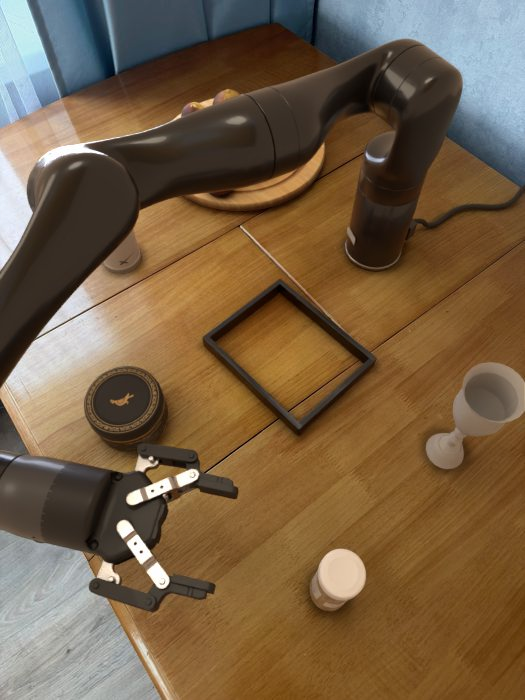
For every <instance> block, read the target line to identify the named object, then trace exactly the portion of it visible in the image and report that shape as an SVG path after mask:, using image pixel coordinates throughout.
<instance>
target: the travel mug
mask: <svg viewBox="0 0 525 700" xmlns="http://www.w3.org/2000/svg"><path fill="white" fill-rule="evenodd" d="M141 261H142V254H141V251H140V247H139V244H138V240H137V237H136V234H135V230H134V229H133V230H132V231H131V233H130V234H129V235H128V236H127V238H126V239H125V240H124V241H123V242H122V243H121V244H120V245H119V246H118V247H117V248H116V250H115V251H114V252H113V253H112V254H111V255H110V256H109V257H108V258H107V259H106V260H105V261H104V262H103V263H102V264H103V265H104V268H105V269H106V270H107V271H108V272H110V273H111V274H117V275H124V274H128V273H130V272H132V271H134V270H135V269H137V268H138V266H139V265H140V263H141Z"/></svg>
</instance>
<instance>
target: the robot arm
mask: <svg viewBox="0 0 525 700" xmlns="http://www.w3.org/2000/svg"><path fill="white" fill-rule="evenodd" d="M463 88H464V79H463V75H462V72H461V71H460V70H459V69H458V68H457V66H456V67H455V66H454V65H453V64H452V63H450V62H449V61H447V60H446V59H445V58H444V57H442V56H441V55H439V54H438V53H437V52H435V51H434V50H433V49H431V48H430V47H429V46H427V45H425V43H422V42H420V41H419V40H416V39H412V38H399V39H395V40H391V41H389V42H386V43H384V44H382V45H379V46H377V47H375V48H373V49H370V50H368V51H365V52H364V53H361V54H359V55H357V56H354V57H352V58H350V59H348V60H346V61H343V62H341V63H339V64H337V65H334V66H331V67H328V68H325V69H322V70H319V71H316V72H313V73H309V74H306V75H304V76H300V77H298V78H294V79H291V80H288V81H284V82H281V83H277V84H273V85H269V86H266V87H265V86H264V87H261V88H258V89H256V90H252V91H249V92H245V93H242V94H240V95H238V96H236V97H233V98H230V99H227V100H225V101H222V102H219V103H216V104H214V105H211V106H208V107H205V108H203V109H200V110H198V111H195V112H192V113H190V114H187V115H185V116H183V117H180V118H178V119H175V118H174V119H175V120H174V119H172V120H171V121H168V122H166V123H164V124H161V125H159V126H155V127H154V128H150V129H147V130H144V131H141V132H136V133H131V134H127V135H122V136H118V137H112V138H107V139H101V140H97V141H90V142H84V143H77V144H70V145H64V146H60V147H56V148H54V149H51V150H49V151H48V152H47V153H45V154H44V155H42V156H41V157H40V158H39V160H37V161H36V163H35V164H34V166H33V167H32V169H31V171H30V173H29V175H28V179H27V182H26V196H27V197H26V198H27V203H28V205H29V208H30V210H31V212H32V213H31V216H30V219H29V220H28V223H27V225H26V227H25V229H24V231H23V233H22V235H21V238H20V239H19V241H18V243H17V244H16V247H15V248H14V250H13V252H12V253H11V254H10V256H9V258H8V259H7V260H6V262H5V263H4V265H3V266H2V268H1V269H0V390H1V389H2V388H3V386H4V384H5V383H6V381H7V380H8V378H9V377H10V375H11V374H12V372H13V371H14V369H15V368H16V367H17V365H18V364H19V362H20V361H21V359H22V358H23V357H24V355H25V354H26V353H27V351H28V350H29V348H30V347H31V346H32V344H33V342H34V341H35V340H36V339H37V338H38V337H39V335H40V334H41V332H43V330H44V329H45V328H46V326H47V325H48V323H50V321H51V320H52V319H53V318H54V316H55V315H56V314H57V313H58V311H59V310H60V309H61V308H62V307H63V306H64V305H65V303H67V301H68V300H69V299H70V298H71V297H72V296H73V294H74V293H75V292H76V291H77V290H78V289H79V288H80V287H81V285H83V283H84V282H85V281H86V280H87V279H89V277H90V276H91V275H92V274H93V273H94V272H95V271H96V270H97V269H98V268H99V267H100V266H102V264H103V262H104V261H105V260H106V259H107V258H108V257H109V256H110V255H111V254H112V253H113V252H114V251H115V250H116V248H117V247H118V246H119V245H120V244H121V243H122V242H123V241H124V240H125V239H126V238H127V236H128V235H129V234H130V233H131V231H132V230H134V228H135V226H136V224H137V221H138V219H139V217H140V211H143V210H145V209H147V208H150V207H151V206H154V205H157V204H159V203H162V202H165V201H168V200H172V199H175V198H179V197H184V196H186V195H194V194H202V193H212V192H218V191H226V190H233V189H239V188H244V187H249V186H252V185H256V184H259V183H263V182H266V181H268V180H271V179H274V178H276V177H279V176H282V175H284V174H287V173H290V172H292V171H295V170H297V169H299V168H301V167H302V166H304V165H305V164H307V163H308V162H309V161H310V160H311V159H312V158H313V157H314V156H315V154H316V153H317V152H318V150H319V149H320V147H321V146H322V145H323V143H324V142H325V141H326V140H327V139H328V137H329V136H330V134H331V132H332V131H333V129H334V127H335V126H336V125H338V124H339V123H340V122H342V121H345V120H347V119H350V118H353V117H356V116H359V115H363V114H373V115H376V117H378V118H380V120H381V121H383V122H384V123H385V124H387V126H388V127H390V128H391V129H392V130H393V131H386V132H382V133H379V134H377V135H375V136H374V137H372V138H371V139H370V140H369V141H368V142H367V144H366V145H365V148H364V149H363V155H362V158H361V163H360V169H359V175H358V179H357V185H356V190H355V195H354V200H353V205H352V209H351V210H352V211H351V215H350V220H349V225H347V229H346V233H347V235H346V239H345V241H344V252H345V255H346V257H347V258H348V260H349V261H350V262H351V263H352V264H353V265H355V266H357V267H358V268H360V269H362V270H366V271H373V272H378V271H384V270H388V269H390V268H392V267H394V266H395V265H396V264H397V262H398V261H399V260H400V258H401V254H402V249H403V247H404V245H405V242H408V241H409V240H411V238H413V237H414V236H415V233H416V229H417V227H418V224H419V225H421V226H423V227H424V228H427V229H431V228H435V227H437V226H439V225H441V224H442V223H444V221H446V220H448V219H449V218H450V217H452V216H453V215H454V214H457V213H459V212H462V211H466V210H490V211H491V210H501V209H506V208H508V207H511V206H512V205H514V204H515V203H516V202H517V201H518V200H519V199H520V198H521V197H522V196H523V194H524V193H525V184H523V185H522V186H521V187H520V188H519V189H518V191H517V192H516V193H515V194H514V196H513V197H511V199H509V200H508V201H506V202H501V203H495V204H494V203H493V204H490V203H489V204H488V203H487V204H486V203H466V204H462V205H458V206H456V207H454V208H452V209H450V210H448V211H447V212H445V213H444V214H443V215H442V216H441V217H439V218H437V219H436V220H434V221H431V222H428V221H427V220H426V219H424V218H414V216H415V213H416V209H417V206H418V203H419V199H420V195H421V193H422V190H423V187H424V184H425V182H426V178H427V175H428V172H429V170H430V168H431V167H432V165H433V163H434V162H435V160H436V159H437V157H438V155H439V153H440V151H441V149H442V146H443V144H444V141H445V138H446V136H447V133H448V132H449V129H450V126H451V124H452V122H453V120H454V117H455V114H456V112H457V109H458V107H459V105H460V102H461V98H462V94H463V90H464V89H463ZM137 453H138V457H137V460H136V463H135V466H134V467H135V468H134V470H132V471H128V472H121V471H116V470H112V469H108V468H104V467H98V466H94V465H89V464H84V463H80V462H74V461H70V460H66V459H62V458H58V457H57V458H56V457H51V456H43V455H31V454H26V453H20V452H16V451H12V450H6V449H2V448H0V530H1V531H4V532H7V533H9V534H11V535H13V536H16V537H18V538H19V537H20V538H22V539H26V540H30V541H33V542H35V543H37V544H48V545H52V546H57V547H61V548H65V549H69V550H74V551H78V552H82V553H86V554H91V555H95V556H97V557H100V558H101V560H102V563H101V564H100V565H101V566H100V568H99V570H98V573H97V575H96V577H94V578H93V579H91V580H90V582H89V583H88V590H89V592H90V593H92V594H93V595H94V594H95V595H97V596H98V597H102V598H105V599H108V600H110V601H114V602H117V603H120V604H124V605H127V606H130V607H132V608H136V609H140V610H142V611H146V612H148V613H156V612H157V611H158V610H159V609H160V607H161V604H162V603H163V601H164V599H165V598H166V597H167V596H168V595H176V596H181V597H186V598H190V599H194V600H197V601H198V600H199V601H202V600H206V599H207V597H208V594H209V595H215V591H216V587H217V585H216V583H214V582H211V581H207V580H202V579H198V578H193V577H189V576H185V575H181V574H177V573H172V575H169V574H168V572H167V571H166V570H165V568H164V567H163V566H162V564H161V562H160V561H159V559H158V558H157V557H156V556H155V554H154V553H153V551H152V550H154V548H156V546H157V544H158V545H159V544H160V541H161V538H162V532H163V531H162V529H163V528H162V527H163V525H164V523H165V522H166V520H167V518H168V515H169V512H170V511H169V508H168V504H169V503H172V502H174V501H176V500H178V499H180V498H181V497H182V496H183V495H186V494H187V493H190V492H192V491H194V490H197V489H199V492H200V493H203V494H207V495H211V496H216V497H222V498H226V499H230V500H237V499H238V496H239V487H238V486H237V485H235V484H234V481H233V480H232V479H230V478H229V477H226V476H225V477H224V476H221V475H217V474H216V475H215V474H210V473H206V472H204V471H202V470H201V461H200V458H199V454H198V452H197V451H196V450H195V449H189V448H182V447H175V446H168V445H163V444H156V443H154V444H149V443H141V444H140V445H139V446H138V448H137ZM160 466H164V467H172V468H177V469H185V470H186V471H183V472H181V473H179V474H177V475H174V476H173V475H172V476H168V477H165V478H163V479H161V480H158V481H156V482H153V481H152V480H151V479H150V478H149V476H148V475H147V473H148V472H150V471H152V470H153V471H155V470H157V469H159V467H160ZM135 558H136V560H137V561H138V562H139V564H140V565H141V567H142V568H143V569H144V571H145V572H146V573H147V574H148V576H149V578H150V579H151V581H152V582H153V584H152V585H151V587H150V589H149V590H148V592H144V591H142V590H138V589H135V588H133V587H132V588H131V587H129V586H125V585H122V584H123V578H122V576H121V575H120V574H118V573H117V572H116V570H115V567H116V566H119V565H121V564H124V563H126V562H129V561H130V560H133V559H135Z"/></svg>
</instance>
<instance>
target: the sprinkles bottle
mask: <svg viewBox="0 0 525 700" xmlns="http://www.w3.org/2000/svg"><path fill="white" fill-rule="evenodd" d="M366 579H367V571H366V567H365V563H364V562H363V561H362V559H361V558H360V556H359V555H358V554H356V553H355V552H354V551H352V550H350V549H346V548H336V549H332V550H330V551H329V552H327V553H326V554H325V555H324V556H323V558H322V559H321V561H320V562H319V565H318V568H317V570H316V572H315V574H314V575H313V577H312V578H311V580H310V583H309V595H310V598H311V600H312V602H313V603H314V605H315V606H316V607H317V608H319V609H320V610H323V611H325V612H333V611H336V610H338V609H340V608H342V607H343V606H344V604H345V603H346V602H348V601H350V600H352V599H354V598H355V597H356V596H358V595H359V594H360V593H361V591H362V590H363V588H364V587H365V584H366V581H367V580H366Z"/></svg>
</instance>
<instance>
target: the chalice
mask: <svg viewBox="0 0 525 700" xmlns="http://www.w3.org/2000/svg"><path fill="white" fill-rule="evenodd" d="M452 404H453V405H452V418H453V422H454V425H455V428H454V430H452V431H451V432H440V433H435V434H433V435H431V436H430V437H429V438H428V439H427V441H426V444H425V453H426V456H427V458H428V459H429V461H430V462H431V463H432V464H433V465H434V466H436V467H438V468H440V469H444V470H452V469H456V468H457V467H459V466H460V465H461V464H462V463H463V460H464V458H465V457H464V455H465V451H464V446H463V441H464V439H465V438H466V437H467V436H469V437H476V438H477V437H484V436H491V435H493V434H495V433H497V432H499V431H500V430H501V429H502V427H504V425H506V424H507V423H509V422H513V421H514V420H516V419H519V418H520V417H521V416H522V415H523V414H524V413H525V380H524V379H523V377H522V376H521V374H520V373H518V372H517V371H515V369H513V368H512V367H509V366H508V365H505V364H503V363H500V362H493V361H488V362H482V363H481V362H480V363H479V364H476V365H474V366H472V368H470V369H469V370H468V371H467V372H466V373H465V376H464V378H463V380H462V386H461V388H460V390H459V391H458V393H457V394H456V396H455V397H454V400H453V402H452Z"/></svg>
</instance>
